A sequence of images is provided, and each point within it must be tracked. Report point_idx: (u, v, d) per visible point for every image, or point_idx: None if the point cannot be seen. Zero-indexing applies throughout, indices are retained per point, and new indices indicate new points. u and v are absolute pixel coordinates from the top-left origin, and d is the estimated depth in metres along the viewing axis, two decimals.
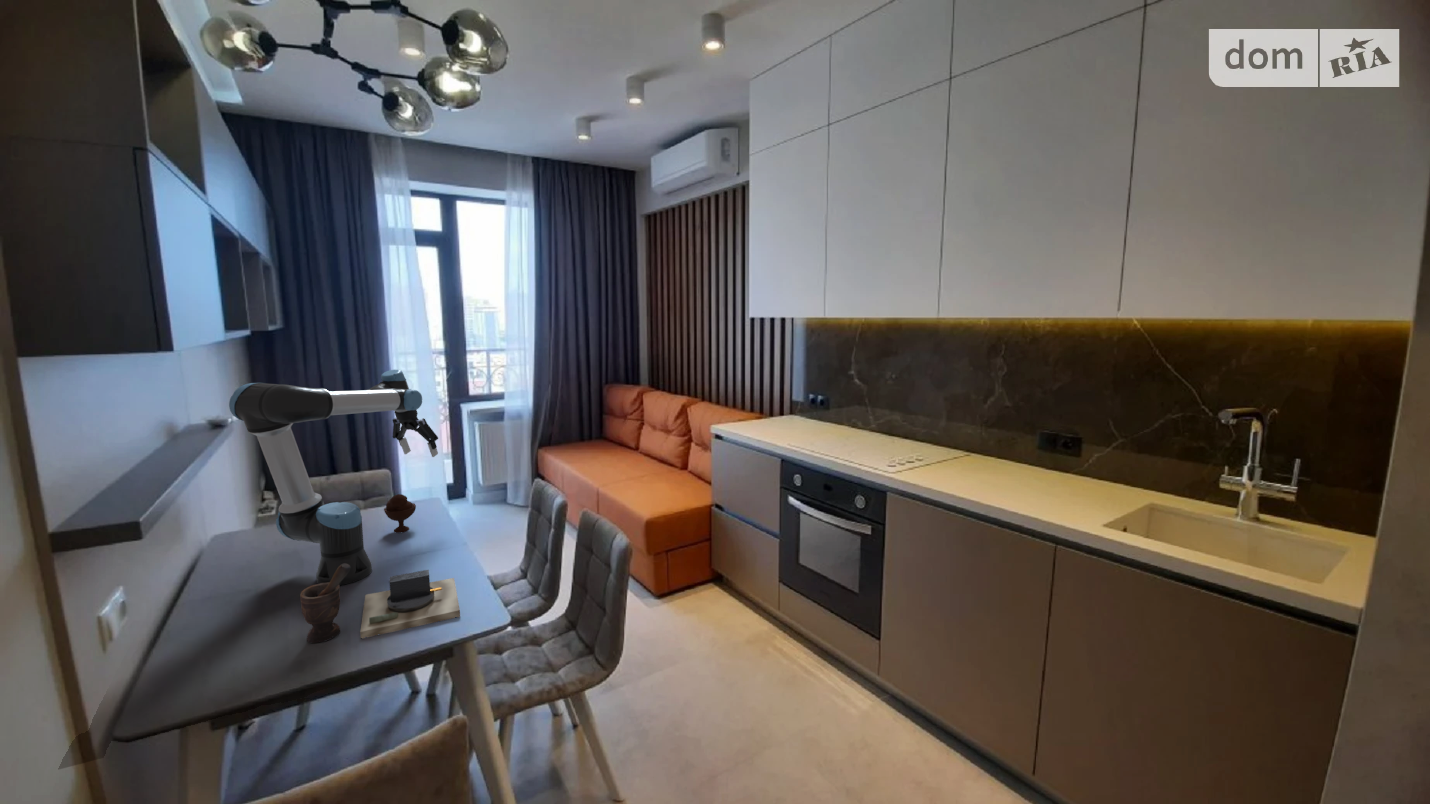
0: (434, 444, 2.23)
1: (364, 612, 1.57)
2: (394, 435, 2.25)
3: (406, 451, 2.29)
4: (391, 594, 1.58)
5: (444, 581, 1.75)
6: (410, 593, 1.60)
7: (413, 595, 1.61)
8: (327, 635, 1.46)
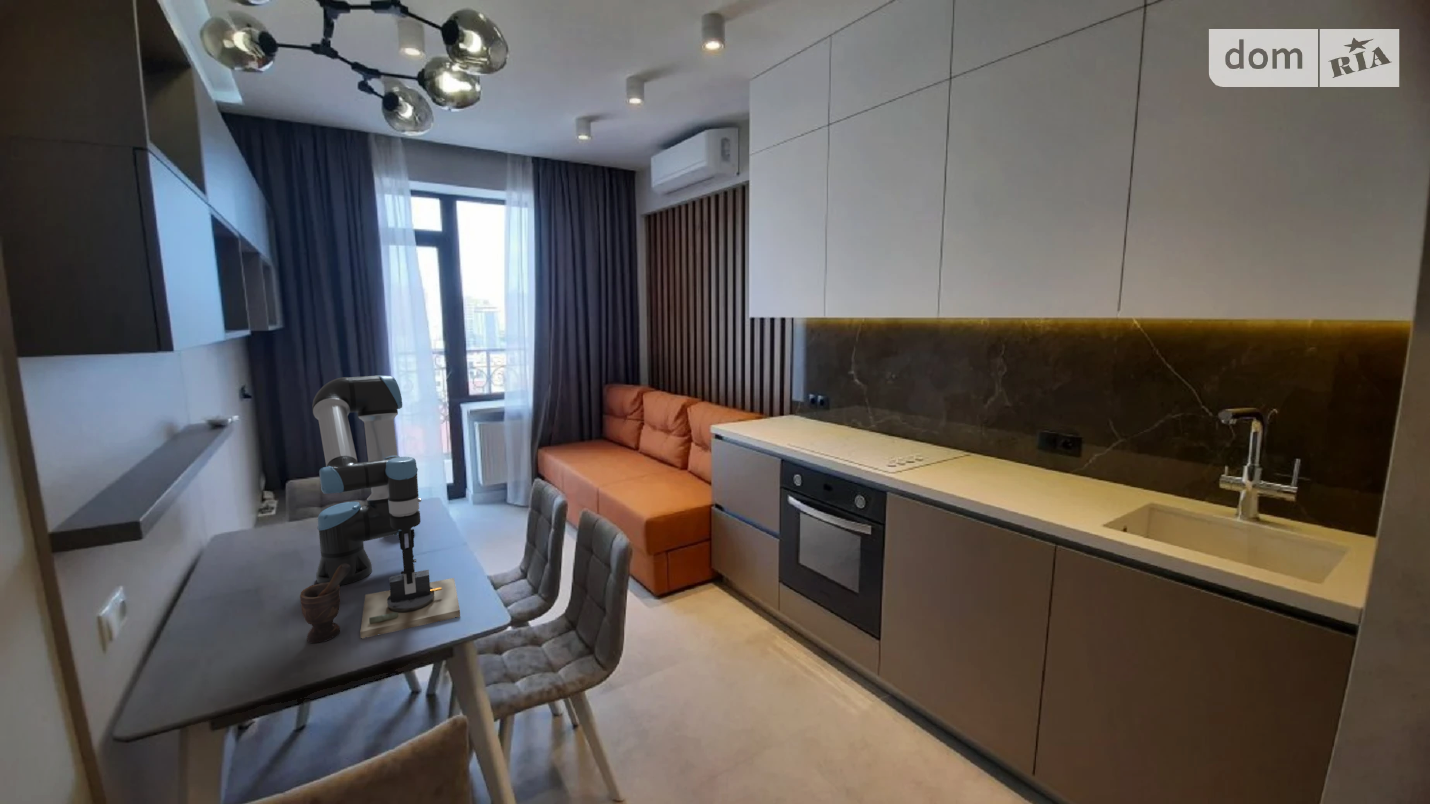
0: (409, 577, 1.58)
1: (364, 612, 1.57)
2: None
3: None
4: (391, 594, 1.58)
5: (444, 581, 1.75)
6: (410, 593, 1.60)
7: (413, 595, 1.61)
8: (327, 635, 1.46)
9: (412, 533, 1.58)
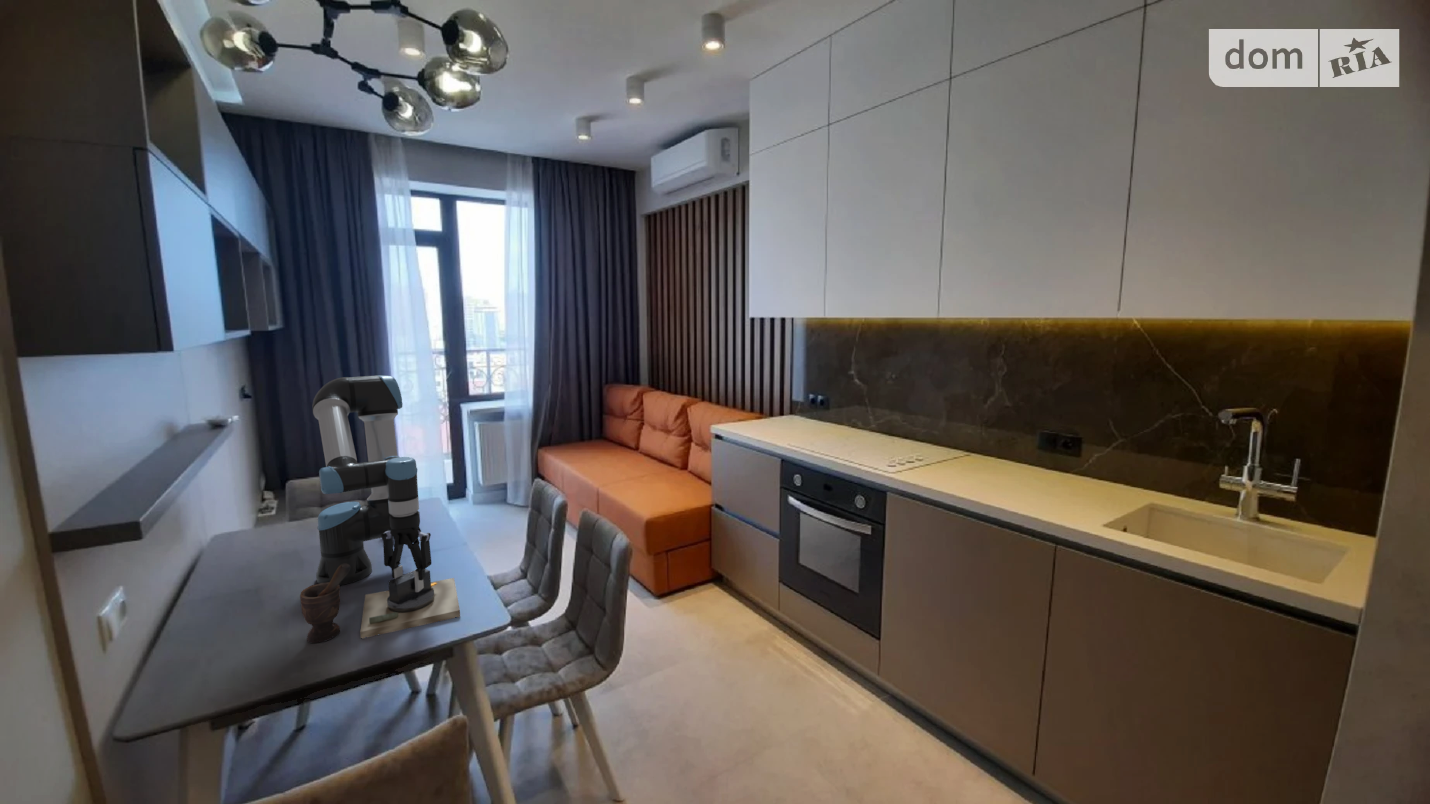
0: (423, 573, 1.60)
1: (364, 612, 1.57)
2: (386, 560, 1.60)
3: None
4: (398, 596, 1.57)
5: (444, 581, 1.75)
6: (414, 592, 1.61)
7: (417, 593, 1.62)
8: (327, 635, 1.46)
9: None
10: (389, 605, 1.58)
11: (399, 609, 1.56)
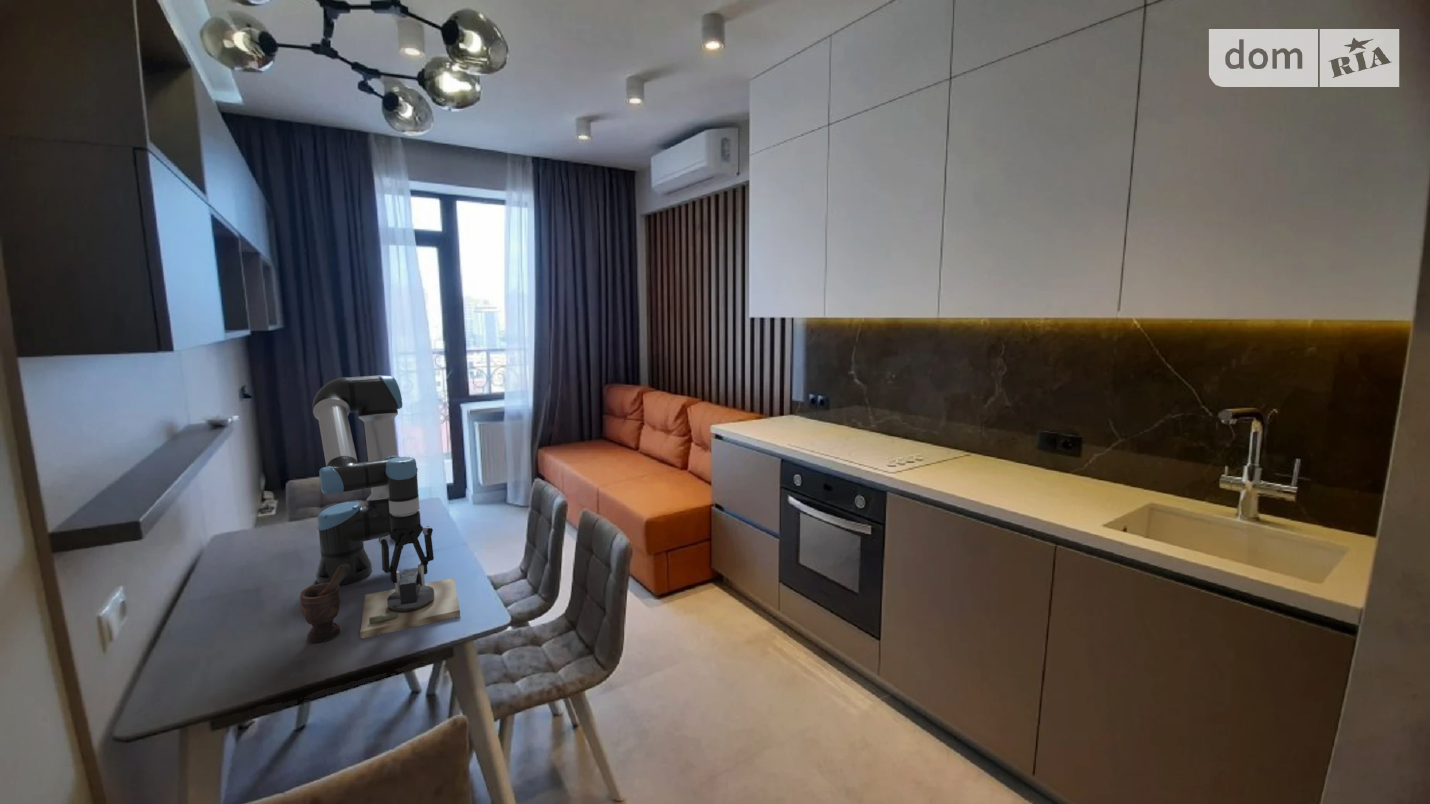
0: None
1: (364, 612, 1.57)
2: (387, 566, 1.56)
3: None
4: (416, 594, 1.58)
5: (444, 581, 1.75)
6: (418, 589, 1.63)
7: (418, 590, 1.63)
8: (327, 635, 1.46)
9: None
10: (405, 607, 1.57)
11: (420, 605, 1.59)
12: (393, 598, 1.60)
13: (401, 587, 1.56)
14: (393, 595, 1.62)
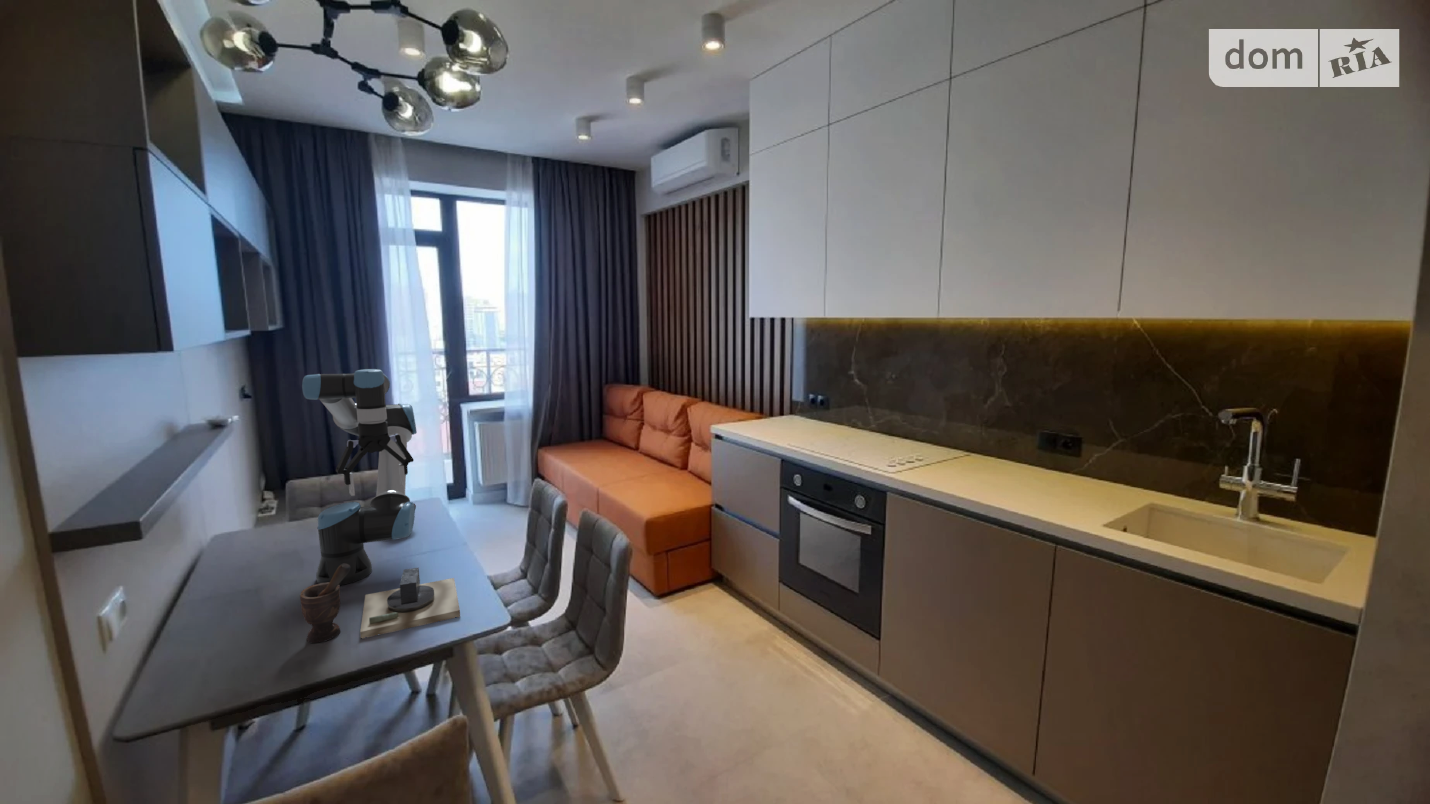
0: None
1: (364, 612, 1.57)
2: (342, 468, 1.62)
3: None
4: (416, 594, 1.58)
5: (444, 581, 1.75)
6: (418, 589, 1.63)
7: (418, 590, 1.63)
8: (327, 635, 1.46)
9: None
10: (406, 607, 1.57)
11: (420, 605, 1.59)
12: (393, 598, 1.60)
13: (401, 587, 1.56)
14: (393, 595, 1.62)
